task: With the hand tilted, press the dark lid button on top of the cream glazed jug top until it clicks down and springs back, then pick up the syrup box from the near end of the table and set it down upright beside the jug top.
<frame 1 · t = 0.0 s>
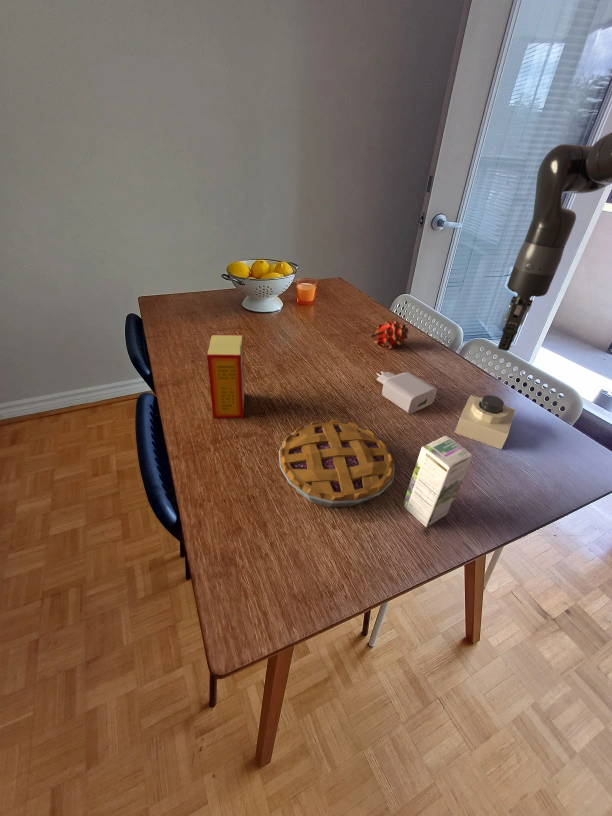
hand: (505, 342, 87), 18 cm above the table, tool pointing down, fingers open, 8 cm apart
jug top: (482, 428, 91), on the table
lid button: (491, 404, 87), point 7 cm above the table, slide at 0.1 cm
charger: (397, 394, 100), on the table
dragon fruit: (387, 346, 122), on the table
pie: (334, 470, 77), on the table
syrup box: (425, 511, 70), on the table
baking soda box: (229, 406, 92), on the table
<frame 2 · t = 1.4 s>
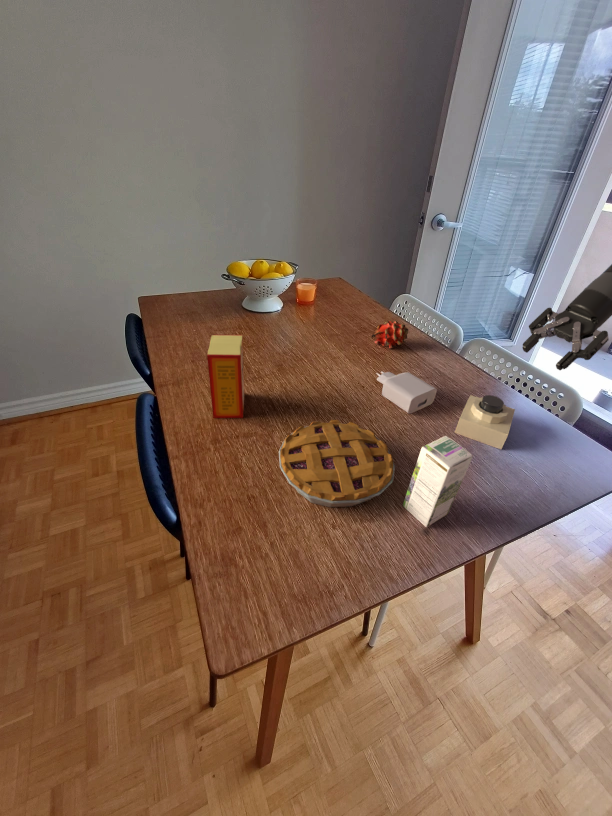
hand: (540, 358, 85), 16 cm above the table, tool tilted 45°, fingers open, 8 cm apart
nothing on the table moved.
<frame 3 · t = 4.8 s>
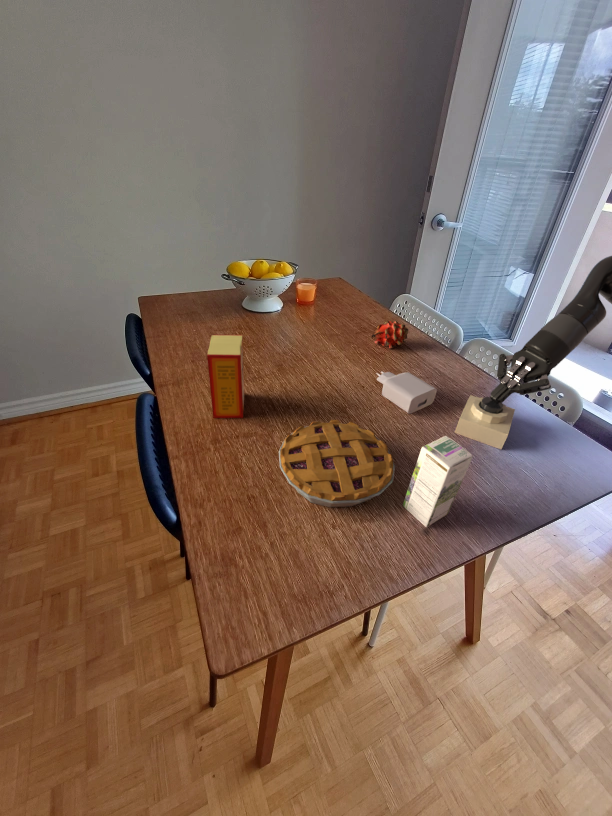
hand: (493, 400, 86), 8 cm above the table, tool tilted 45°, fingers closed
lid button: (491, 406, 87), point 6 cm above the table, slide at -0.4 cm, touching gripper
everything else where it was.
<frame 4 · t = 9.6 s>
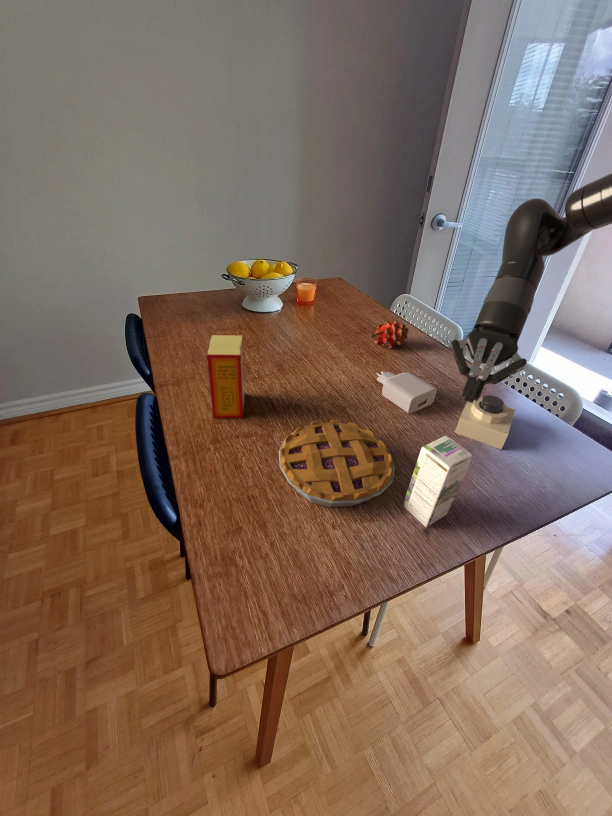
hand: (468, 400, 68), 17 cm above the table, tool tilted 45°, fingers closed
lid button: (491, 404, 87), point 7 cm above the table, slide at 0.1 cm
everything else where it was.
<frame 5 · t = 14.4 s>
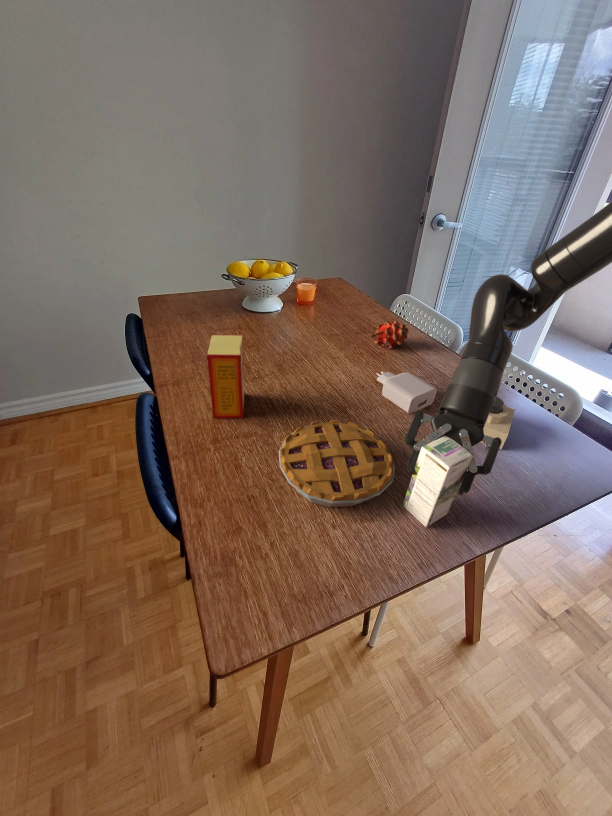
hand: (434, 483, 64), 8 cm above the table, tool tilted 45°, fingers closed on syrup box, 7 cm apart
syrup box: (425, 511, 70), on the table, touching gripper
everything else where it was.
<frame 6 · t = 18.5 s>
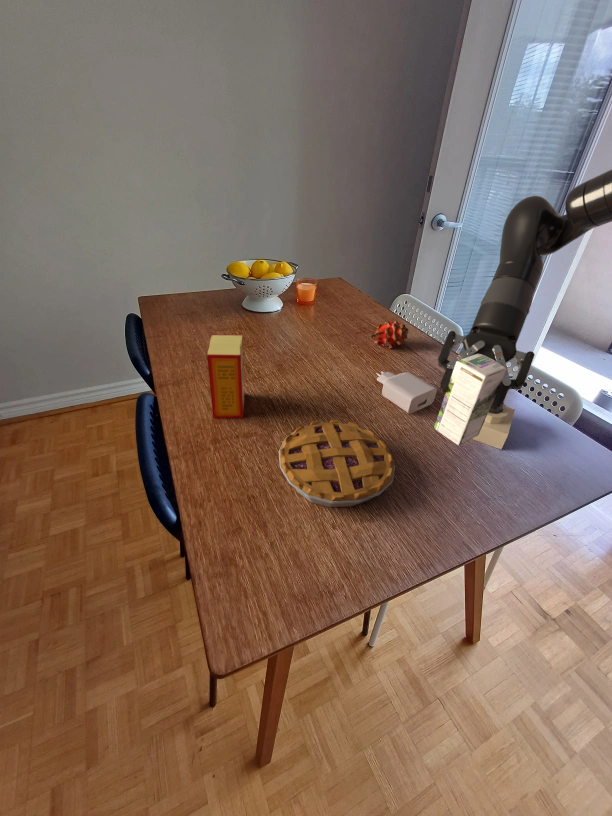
hand: (468, 399, 66), 18 cm above the table, tool tilted 45°, fingers closed on syrup box, 7 cm apart
syrup box: (455, 433, 72), point 10 cm above the table, touching gripper
everything else where it was.
when the fingers open (8 cm above the table, at t = 23.0 s): syrup box stays where it is, on the table.
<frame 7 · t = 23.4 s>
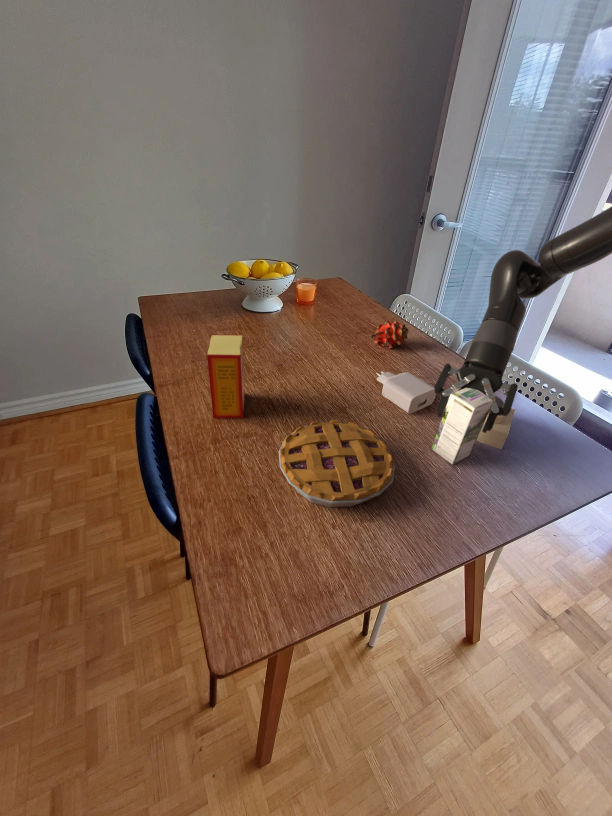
hand: (461, 424, 77), 9 cm above the table, tool tilted 45°, fingers open, 8 cm apart
syrup box: (450, 453, 83), on the table
everything else where it was.
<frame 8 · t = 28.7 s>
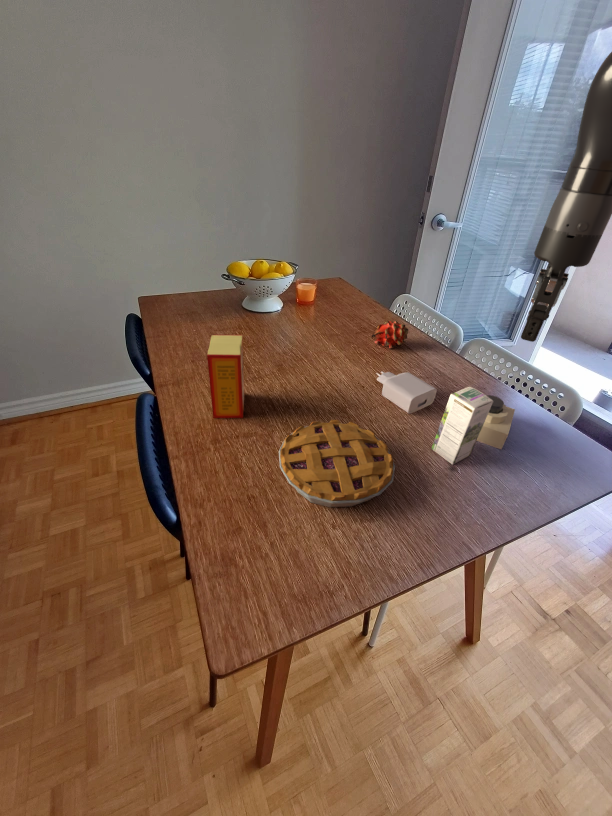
hand: (530, 330, 67), 28 cm above the table, tool pointing down, fingers open, 8 cm apart
nothing on the table moved.
at the end: lid button pushed in 1.3 cm at the most during the clip, back to where it started at the end; lid button slide at 0.1 cm; syrup box inside the target area on the table beside the jug top (0.1 cm from its centre), on the table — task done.
